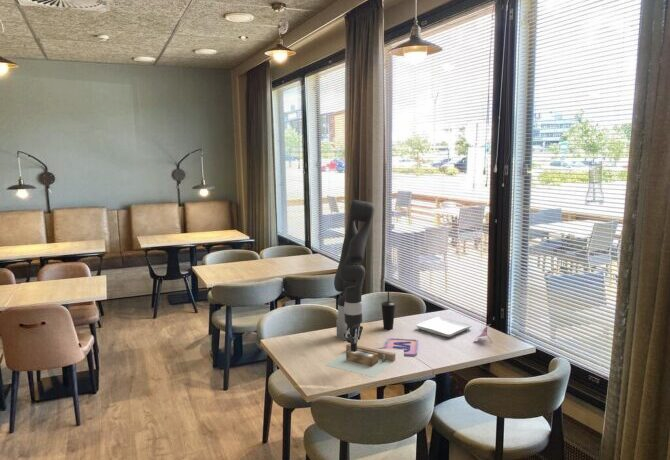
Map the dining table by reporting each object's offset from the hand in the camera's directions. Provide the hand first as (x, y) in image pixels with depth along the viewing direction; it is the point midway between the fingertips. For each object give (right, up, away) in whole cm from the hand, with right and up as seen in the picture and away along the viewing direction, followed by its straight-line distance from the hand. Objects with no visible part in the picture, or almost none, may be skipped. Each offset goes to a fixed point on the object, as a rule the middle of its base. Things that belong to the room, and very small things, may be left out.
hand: (353, 351), depth 217 cm
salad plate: (+48, -1, +49) cm, 69 cm away
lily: (+64, -3, +32) cm, 72 cm away
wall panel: (+3, -8, +7) cm, 11 cm away
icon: (+21, -5, +26) cm, 34 cm away
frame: (+4, -6, +8) cm, 11 cm away
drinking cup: (+20, -1, +52) cm, 56 cm away
